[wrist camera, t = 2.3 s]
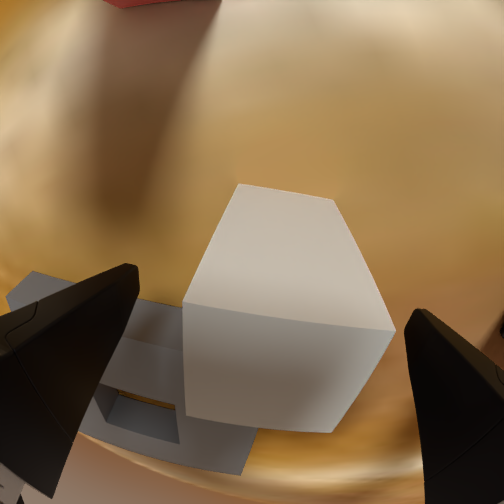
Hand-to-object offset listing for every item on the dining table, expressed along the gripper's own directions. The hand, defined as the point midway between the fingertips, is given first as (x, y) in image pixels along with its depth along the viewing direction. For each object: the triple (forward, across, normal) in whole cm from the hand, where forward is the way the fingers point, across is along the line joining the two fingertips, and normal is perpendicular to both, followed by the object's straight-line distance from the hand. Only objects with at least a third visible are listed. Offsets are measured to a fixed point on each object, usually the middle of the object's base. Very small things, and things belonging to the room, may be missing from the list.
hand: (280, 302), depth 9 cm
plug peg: (+5, 0, 0) cm, 5 cm away
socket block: (+5, +7, +13) cm, 16 cm away
